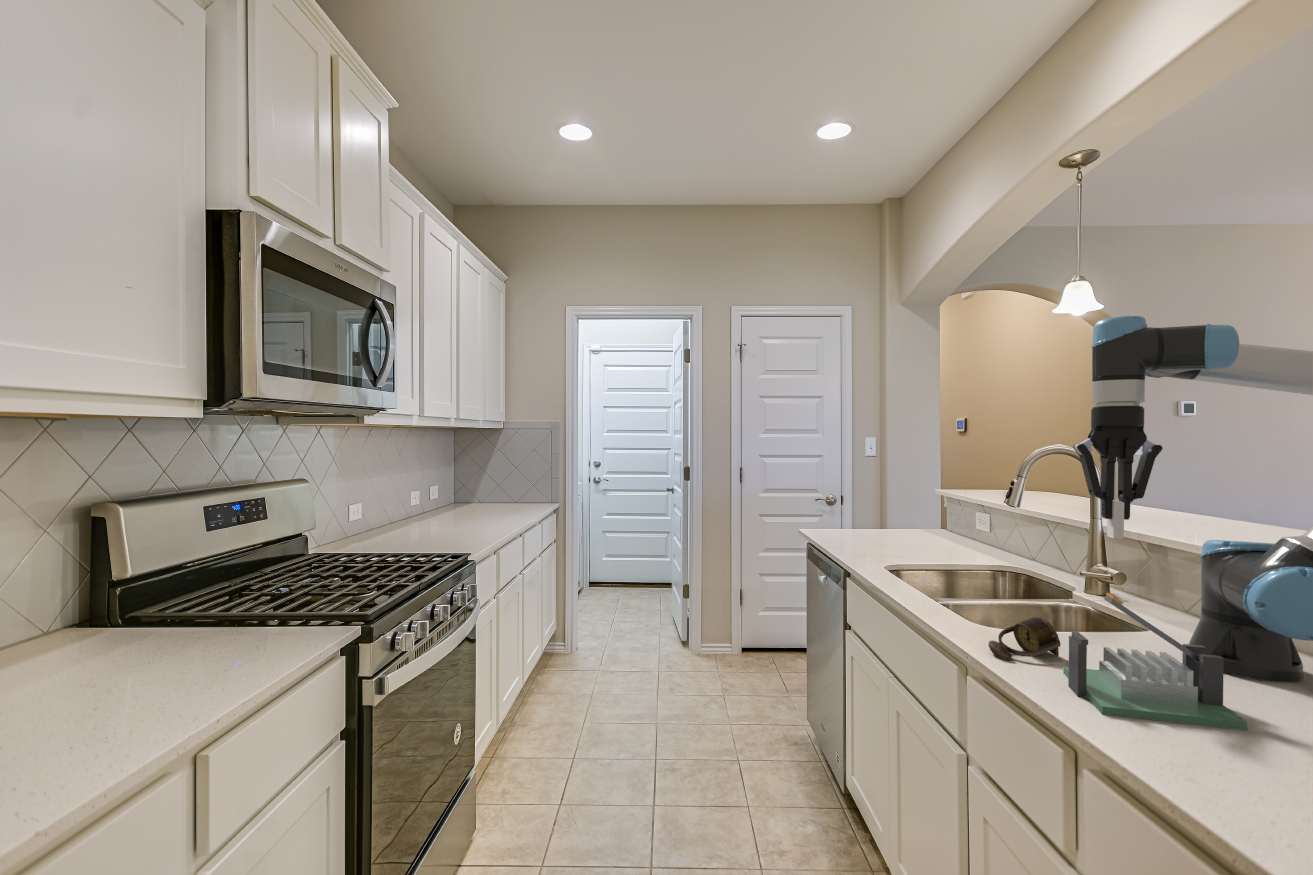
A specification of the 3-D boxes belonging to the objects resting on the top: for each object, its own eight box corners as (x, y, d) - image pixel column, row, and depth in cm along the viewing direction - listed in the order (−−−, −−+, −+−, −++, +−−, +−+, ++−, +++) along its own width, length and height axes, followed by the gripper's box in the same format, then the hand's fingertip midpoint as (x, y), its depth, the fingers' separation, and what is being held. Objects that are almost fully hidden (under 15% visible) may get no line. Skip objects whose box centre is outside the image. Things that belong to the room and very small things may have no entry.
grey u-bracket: (1201, 690, 98) (1202, 645, 98) (1223, 705, 92) (1223, 657, 92) (1182, 688, 98) (1182, 643, 98) (1202, 703, 93) (1203, 656, 93)
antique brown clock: (1076, 638, 110) (1051, 610, 120) (1002, 628, 112) (982, 602, 122) (1067, 672, 112) (1043, 642, 122) (994, 662, 114) (976, 633, 123)
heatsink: (1169, 684, 100) (1169, 652, 100) (1197, 706, 92) (1198, 671, 92) (1099, 677, 103) (1099, 646, 103) (1120, 698, 95) (1121, 664, 95)
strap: (1194, 660, 97) (1200, 654, 96) (1204, 666, 94) (1210, 660, 94) (1101, 598, 100) (1107, 592, 100) (1108, 602, 98) (1114, 596, 97)
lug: (1078, 687, 102) (1078, 631, 102) (1087, 697, 98) (1088, 639, 98) (1068, 686, 102) (1069, 631, 102) (1077, 696, 98) (1078, 639, 98)
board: (1184, 685, 103) (1184, 678, 103) (1247, 730, 87) (1247, 722, 87) (1063, 673, 108) (1063, 666, 108) (1102, 713, 92) (1102, 706, 92)
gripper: (1150, 405, 109) (1148, 535, 109) (1067, 406, 113) (1065, 532, 113) (1172, 404, 102) (1170, 543, 102) (1082, 404, 105) (1080, 539, 106)
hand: (1115, 537), depth 107 cm, fingers closed
